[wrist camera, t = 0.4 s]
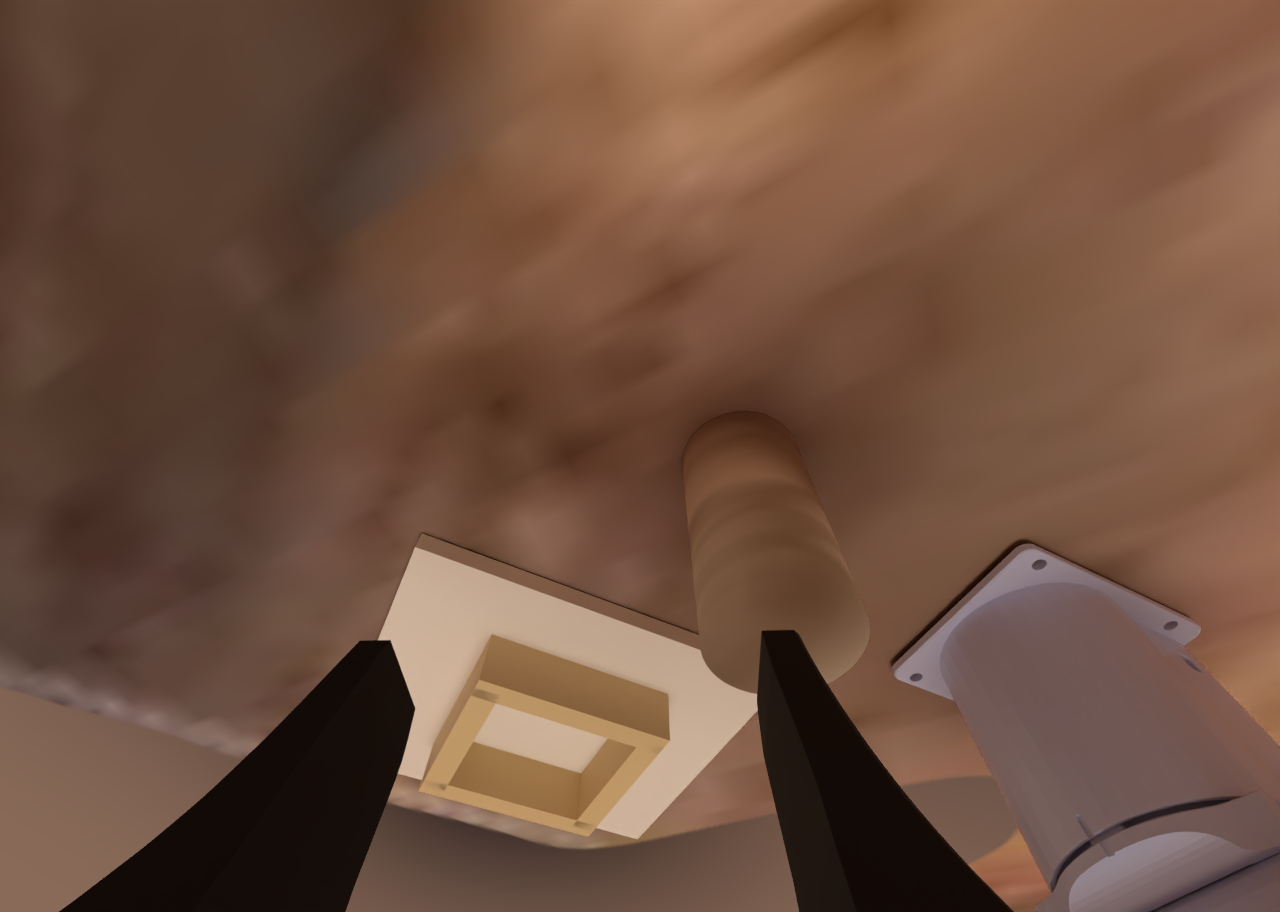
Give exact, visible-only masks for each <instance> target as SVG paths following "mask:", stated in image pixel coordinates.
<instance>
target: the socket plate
mask: <svg viewBox="0 0 1280 912" xmlns="http://www.w3.org/2000/svg"><path fill="white" fill-rule="evenodd" d="M378 640H391V643H392V646H393V648H394V651H395V654H396V657H397V659H398V662H399V665H400V668H401V670H402V673H403V676H404V679H405V681H406V684H407V687H408V690H409V692H410V695H411V698H412V701H413V703H414V706H415V712H414V717H413V721H412V725H411V729H410V733H409V737H408V741H407V745H406V749H405V752H404V756H403V760H402V763H401V766H400V768H399V771H398V774H402V775H405V776H409V777H413V778H416V779H420V780H422V781H421V784H420V787H419V790H418V791H421V792H424V793H428V794H432V795H435V796H439V797H443V798H447V799H450V800H454V801H458V802H461V803H465V804H469V805H472V806H476V807H480V808H484V809H487V810H491V811H495V812H498V813H502V814H506V815H509V816H513V817H517V818H521V819H524V820H528V821H532V822H535V823H539V824H543V825H547V826H550V827H554V828H558V829H561V830H565V831H569V832H572V833H576V834H580V835H584V836H587V837H588V836H589V835H590V834H591V833H592V832H593V831H594V829H595V828H598V829H602V830H606V831H609V832H613V833H617V834H620V835H624V836H628V837H631V838H635V839H638V838H639V837H640V836H641V835H642V834H643V833H644V832H645V831H646V829H647V828H648V827H649V826H650V825H651V824H652V823H653V822H654V821H655V820H656V819H657V818H658V817H659V816H660V814H661V813H662V812H663V811H664V810H665V809H666V808H667V807H668V806H669V805H670V804H671V803H672V802H673V801H674V799H675V798H676V797H677V796H678V795H679V794H680V793H681V792H682V791H683V790H684V789H685V788H686V787H687V786H688V784H689V783H690V782H691V781H692V780H693V779H694V778H695V777H696V776H697V775H698V774H699V773H700V772H701V771H702V769H703V768H704V767H705V766H706V765H707V764H708V763H709V762H710V761H711V760H712V759H713V758H714V757H715V756H716V754H717V753H718V752H719V751H720V750H721V749H722V748H723V747H724V746H725V745H726V744H727V743H728V742H729V741H730V739H731V738H732V737H733V736H734V735H735V734H736V733H737V732H738V731H739V730H740V729H741V728H742V727H743V726H744V724H745V723H746V722H747V721H748V720H749V719H750V718H751V717H752V716H753V715H754V714H755V713H756V712H757V711H758V707H757V694H755V693H749V692H746V691H742V690H739V689H737V688H735V687H732V686H730V685H728V684H727V683H725V682H723V681H722V680H720V679H719V678H718V677H716V676H715V675H714V674H713V673H712V672H711V671H710V669H709V668H708V667H707V665H706V663H705V661H704V660H703V657H702V654H701V650H700V641H699V635H697V634H695V633H692V632H689V631H687V630H684V629H681V628H678V627H676V626H673V625H670V624H668V623H665V622H662V621H659V620H657V619H654V618H651V617H648V616H646V615H643V614H640V613H638V612H635V611H632V610H629V609H627V608H624V607H621V606H619V605H616V604H613V603H610V602H608V601H605V600H602V599H599V598H597V597H594V596H591V595H589V594H586V593H583V592H580V591H578V590H575V589H572V588H570V587H567V586H564V585H561V584H559V583H556V582H553V581H551V580H548V579H545V578H542V577H540V576H537V575H534V574H531V573H529V572H526V571H523V570H521V569H518V568H515V567H512V566H510V565H507V564H504V563H502V562H499V561H496V560H493V559H491V558H488V557H485V556H482V555H480V554H477V553H474V552H472V551H469V550H466V549H463V548H461V547H458V546H455V545H453V544H450V543H447V542H444V541H442V540H439V539H436V538H433V537H431V536H428V535H425V534H423V533H422V534H421V536H420V538H419V540H418V542H417V544H416V546H415V549H414V551H413V554H412V556H411V559H410V561H409V564H408V566H407V569H406V571H405V574H404V576H403V579H402V581H401V584H400V586H399V589H398V591H397V594H396V596H395V599H394V601H393V604H392V606H391V609H390V611H389V614H388V616H387V619H386V621H385V624H384V626H383V628H382V631H381V633H380V636H379V638H378Z"/></svg>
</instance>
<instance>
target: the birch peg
mask: <svg viewBox="0 0 1280 912" xmlns="http://www.w3.org/2000/svg"><path fill="white" fill-rule="evenodd" d="M682 470H683V480H684V490H685V500H686V510H687V520H688V530H689V540H690V550H691V561H692V571H693V581H694V591H695V601H696V611H697V621H698V631H699V641H700V650H701V654H702V657H703V660H704V661H705V663H706V665H707V667H708V668H709V669H710V671H711V672H712V673H713V674H714V675H715V676H716V677H718V678H719V679H720V680H722V681H723V682H725V683H727V684H728V685H730V686H732V687H735V688H737V689H739V690H742V691H746V692H749V693H755V694H757V690H758V676H759V661H760V646H761V631H766V630H795V631H796V632H797V633H798V634H799V635H800V637H801V639H802V641H803V643H804V645H805V647H806V648H807V650H808V652H809V654H810V656H811V658H812V659H813V661H814V663H815V665H816V666H817V668H818V670H819V671H820V673H821V675H822V676H823V678H824V680H825V681H826V683H827V684H828V683H830V682H832V681H834V680H835V679H837V678H839V677H840V676H842V675H843V674H844V673H846V672H847V671H848V670H849V669H850V668H852V667H853V666H854V665H855V663H856V662H857V661H858V660H859V659H860V657H861V656H862V654H863V653H864V651H865V649H866V647H867V644H868V641H869V637H870V621H869V618H868V615H867V612H866V610H865V607H864V605H863V602H862V600H861V598H860V595H859V593H858V591H857V588H856V586H855V583H854V581H853V579H852V576H851V574H850V572H849V569H848V567H847V564H846V562H845V560H844V557H843V555H842V553H841V550H840V548H839V545H838V543H837V541H836V538H835V536H834V534H833V531H832V529H831V527H830V524H829V522H828V519H827V517H826V515H825V512H824V510H823V508H822V505H821V503H820V500H819V498H818V496H817V493H816V491H815V489H814V486H813V484H812V481H811V479H810V477H809V474H808V472H807V470H806V467H805V465H804V462H803V460H802V458H801V455H800V453H799V451H798V448H797V446H796V443H795V441H794V439H793V437H792V435H791V434H790V432H789V431H788V430H787V429H786V428H785V427H784V426H783V425H782V424H781V423H780V422H778V421H777V420H775V419H773V418H771V417H769V416H767V415H764V414H760V413H756V412H733V413H728V414H724V415H721V416H719V417H716V418H714V419H712V420H710V421H709V422H707V423H706V424H704V425H703V426H702V427H700V428H699V429H698V430H697V431H696V432H695V433H694V434H693V436H692V437H691V438H690V440H689V442H688V443H687V445H686V448H685V450H684V453H683V458H682Z"/></svg>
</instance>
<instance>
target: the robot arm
mask: <svg viewBox="0 0 1280 912" xmlns="http://www.w3.org/2000/svg"><path fill="white" fill-rule="evenodd" d="M1037 560H1038V561H1037ZM1035 561H1037V562H1035ZM1034 562H1035V563H1034ZM1200 632H1201V627H1200V626H1199V625H1198V624H1197V623H1196V622H1195V621H1194V620H1193V619H1191V618H1189V617H1186V616H1184V615H1182V614H1180V613H1178V612H1176V611H1174V610H1172V609H1169V608H1167V607H1165V606H1163V605H1161V604H1159V603H1157V602H1155V601H1153V600H1150V599H1148V598H1146V597H1144V596H1142V595H1140V594H1138V593H1136V592H1133V591H1131V590H1129V589H1127V588H1125V587H1123V586H1121V585H1119V584H1117V583H1114V582H1112V581H1110V580H1108V579H1106V578H1104V577H1102V576H1100V575H1097V574H1095V573H1093V572H1091V571H1089V570H1087V569H1085V568H1083V567H1081V566H1078V565H1076V564H1074V563H1072V562H1070V561H1068V560H1066V559H1064V558H1061V557H1059V556H1057V555H1055V554H1053V553H1051V552H1049V551H1047V550H1044V549H1042V548H1040V547H1038V546H1036V545H1034V544H1023V545H1020V546H1018V547H1016V548H1015V549H1014V550H1013V551H1012V552H1011V553H1010V554H1009V555H1008V556H1007V557H1005V558H1004V559H1003V560H1002V561H1001V562H1000V563H999V564H998V565H997V566H996V567H995V568H994V569H993V570H992V571H991V572H990V573H989V574H988V575H987V576H986V577H985V578H983V579H982V580H981V581H980V582H979V583H978V584H977V585H976V586H975V587H974V588H973V589H972V590H971V591H970V592H969V593H968V594H967V595H966V596H965V597H964V598H963V599H961V600H960V601H959V602H958V603H957V604H956V605H955V606H954V607H953V608H952V609H951V610H950V611H949V612H948V613H947V614H946V615H945V616H944V617H943V618H942V619H941V620H939V621H938V622H937V623H936V624H935V625H934V626H933V627H932V628H931V629H930V630H929V631H928V632H927V633H926V634H925V635H924V636H923V637H922V638H921V639H920V640H919V641H917V642H916V643H915V644H914V645H913V646H912V647H911V648H910V649H909V650H908V651H907V652H906V653H905V654H904V655H903V656H902V657H901V658H900V659H899V660H898V661H897V662H895V664H894V665H893V666H892V671H893V673H894V676H895V677H896V678H897V679H898V680H900V681H903V682H906V683H908V684H911V685H913V686H916V687H919V688H921V689H924V690H927V691H929V692H932V693H934V694H937V695H940V696H942V697H945V698H948V699H950V700H953V701H955V703H956V705H957V707H958V709H959V711H960V713H961V715H962V717H963V719H964V721H965V723H966V725H967V727H968V729H969V731H970V733H971V735H972V737H973V739H974V741H975V743H976V745H977V747H978V748H979V750H980V752H981V754H982V756H983V758H984V760H985V762H986V764H987V766H988V768H989V770H990V772H991V774H992V776H993V778H994V780H995V782H996V784H997V786H998V788H999V790H1000V792H1001V794H1002V796H1003V798H1004V800H1005V802H1006V804H1007V806H1008V808H1009V810H1010V812H1011V814H1012V816H1013V818H1014V820H1015V822H1016V824H1017V826H1018V828H1019V830H1020V832H1021V834H1022V836H1023V838H1024V840H1025V842H1026V844H1027V846H1028V848H1029V850H1030V852H1031V854H1032V856H1033V858H1034V860H1035V862H1036V864H1037V866H1038V868H1039V870H1040V872H1041V873H1042V875H1043V877H1044V879H1045V881H1046V883H1047V885H1048V887H1049V889H1050V891H1051V893H1052V894H1051V895H1050V896H1049V897H1047V898H1046V899H1045V900H1044V901H1042V902H1040V903H1039V904H1037V905H1036V906H1035V909H1036V912H1280V746H1279V745H1278V744H1277V743H1276V742H1275V741H1274V740H1273V739H1272V738H1271V737H1270V736H1269V735H1268V733H1267V732H1266V731H1265V730H1264V729H1263V728H1262V727H1261V726H1260V725H1259V724H1258V723H1257V722H1256V721H1255V720H1254V719H1253V718H1252V717H1251V716H1250V715H1249V714H1248V713H1247V712H1246V711H1245V710H1244V709H1243V707H1242V706H1241V705H1240V704H1239V703H1238V702H1237V701H1236V700H1235V699H1234V698H1233V697H1232V696H1231V695H1230V694H1229V693H1228V692H1227V691H1226V690H1225V689H1224V688H1223V687H1222V686H1221V685H1220V684H1219V682H1218V681H1217V680H1216V679H1215V678H1214V677H1213V676H1212V675H1211V674H1210V673H1209V672H1208V671H1207V670H1206V669H1205V668H1204V667H1203V666H1202V665H1201V664H1200V663H1199V662H1198V661H1197V660H1196V659H1195V658H1194V656H1193V655H1192V654H1191V653H1190V652H1189V651H1188V650H1187V649H1186V648H1185V647H1184V646H1185V645H1186V644H1188V643H1189V642H1190V641H1192V640H1193V639H1195V638H1196V637H1197V636H1198V635H1199V634H1200ZM757 707H758V715H759V723H760V731H761V738H762V746H763V753H764V758H765V763H766V767H767V772H768V776H769V780H770V784H771V789H772V793H773V797H774V802H775V806H776V810H777V814H778V819H779V823H780V827H781V831H782V835H783V840H784V844H785V848H786V852H787V857H788V861H789V865H790V869H791V873H792V878H793V882H794V887H795V892H796V897H797V902H798V907H799V912H1013V911H1012V910H1011V909H1010V908H1009V907H1008V906H1007V905H1006V903H1005V902H1004V901H1003V900H1002V899H1001V898H1000V897H999V896H998V895H997V894H996V893H995V892H994V891H993V890H992V889H991V888H990V887H989V886H988V885H987V884H986V883H985V882H984V881H983V880H982V879H981V878H980V877H979V876H978V875H977V874H976V873H975V872H974V871H973V870H972V869H971V868H970V867H969V866H968V865H967V864H966V863H965V861H964V860H963V859H962V858H961V857H960V856H959V855H958V854H957V853H956V852H955V850H954V849H953V848H952V847H951V846H950V845H949V844H948V843H947V842H946V840H945V839H944V838H943V837H942V836H941V835H940V834H939V833H938V832H937V830H936V829H935V828H934V827H933V826H932V825H931V823H930V822H929V821H928V820H927V819H926V818H925V816H924V815H923V814H922V813H921V812H920V811H919V809H918V808H917V807H916V806H915V805H914V804H913V802H912V801H911V800H910V799H909V797H908V796H907V795H906V794H905V792H904V791H903V790H902V789H901V787H900V786H899V785H898V784H897V782H896V781H895V780H894V779H893V777H892V776H891V775H890V773H889V772H888V771H887V769H886V768H885V767H884V765H883V764H882V763H881V761H880V760H879V759H878V758H877V756H876V755H875V754H874V752H873V751H872V749H871V748H870V747H869V745H868V744H867V743H866V741H865V740H864V738H863V737H862V736H861V734H860V733H859V731H858V730H857V728H856V727H855V725H854V724H853V722H852V721H851V719H850V718H849V717H848V715H847V714H846V712H845V711H844V709H843V708H842V706H841V705H840V703H839V702H838V700H837V699H836V697H835V696H834V694H833V692H832V691H831V689H830V688H829V686H828V684H827V683H826V681H825V680H824V678H823V676H822V675H821V673H820V671H819V670H818V668H817V666H816V665H815V663H814V661H813V659H812V658H811V656H810V654H809V652H808V650H807V648H806V647H805V645H804V643H803V641H802V639H801V637H800V635H799V634H798V633H797V632H796V631H795V630H766V631H761V646H760V661H759V676H758V690H757ZM414 712H415V706H414V703H413V701H412V698H411V695H410V692H409V690H408V687H407V684H406V681H405V679H404V676H403V673H402V670H401V668H400V665H399V662H398V659H397V657H396V654H395V651H394V648H393V646H392V643H391V640H374V641H359V642H358V643H357V644H356V645H355V647H354V648H353V649H352V650H351V651H350V652H349V653H348V654H347V655H346V656H345V657H344V658H343V659H342V660H341V661H340V662H339V663H338V664H337V665H336V666H335V667H334V668H333V669H332V670H331V671H330V672H329V673H328V674H327V676H326V677H325V678H324V679H323V680H322V681H321V682H320V683H319V684H318V685H317V686H316V687H315V688H314V689H313V690H312V691H311V692H310V693H309V694H308V695H307V696H306V698H305V699H304V700H303V701H302V702H301V703H300V704H299V705H298V706H297V707H296V708H295V709H294V710H293V711H292V712H291V713H290V714H289V715H288V716H287V717H286V718H285V719H284V720H283V721H282V722H281V723H280V724H279V725H278V726H277V727H276V728H275V729H274V730H273V731H272V732H271V733H270V734H269V735H268V736H267V737H266V738H265V739H264V740H263V741H262V742H261V743H260V744H259V745H258V746H257V747H256V748H255V749H254V750H253V751H252V752H251V753H250V754H249V755H248V756H247V757H246V758H245V759H243V760H242V761H241V762H240V763H239V764H238V765H237V766H236V767H235V768H234V769H233V770H232V771H231V772H230V773H229V774H228V775H227V776H226V777H225V778H223V779H222V780H221V781H220V782H219V783H218V784H217V785H216V786H215V787H214V788H213V789H212V790H211V791H209V792H208V793H207V794H206V795H205V796H204V797H203V798H202V799H201V800H200V801H198V802H197V803H196V804H195V805H194V806H193V807H191V808H190V809H189V810H188V811H187V812H186V813H184V814H183V815H182V816H181V817H180V818H179V819H177V820H176V821H175V822H174V823H173V824H172V825H170V826H169V827H168V828H167V829H165V830H164V831H163V832H162V833H161V834H159V835H158V836H157V837H156V838H155V839H153V840H152V841H151V842H150V843H148V844H147V845H146V846H145V847H144V848H142V849H141V850H140V851H139V852H137V853H136V854H135V855H133V856H132V857H131V858H129V859H128V860H127V861H126V862H124V863H123V864H122V865H120V866H119V867H118V868H116V869H115V870H114V871H112V872H111V873H110V874H109V875H107V876H106V877H105V878H103V879H102V880H101V881H99V882H98V883H97V884H96V885H94V886H93V887H92V888H90V889H89V890H88V891H87V892H85V893H84V894H82V896H80V897H78V898H77V899H76V900H75V901H73V902H72V903H71V904H69V905H68V906H66V907H65V908H64V909H62V910H61V911H59V912H345V911H346V908H347V905H348V903H349V900H350V896H351V894H352V891H353V888H354V885H355V883H356V880H357V878H358V875H359V872H360V870H361V867H362V865H363V862H364V860H365V857H366V854H367V852H368V849H369V847H370V844H371V842H372V839H373V836H374V834H375V831H376V829H377V826H378V823H379V821H380V818H381V816H382V813H383V811H384V808H385V806H386V803H387V800H388V798H389V795H390V792H391V790H392V787H393V785H394V782H395V779H396V777H397V774H398V771H399V768H400V766H401V763H402V760H403V756H404V752H405V749H406V745H407V741H408V737H409V733H410V729H411V725H412V721H413V717H414Z"/></svg>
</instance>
